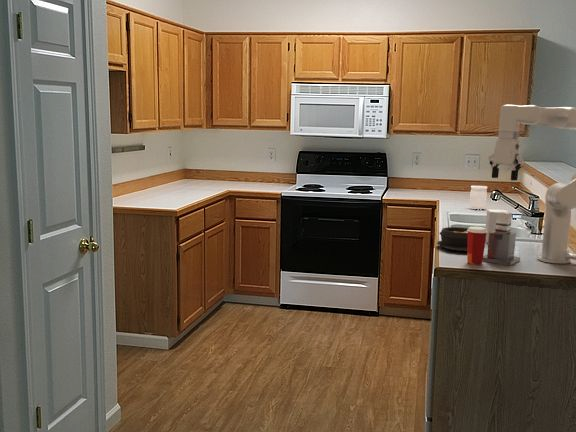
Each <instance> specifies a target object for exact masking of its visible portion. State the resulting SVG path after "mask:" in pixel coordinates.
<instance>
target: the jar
mask: <svg viewBox="0 0 576 432" xmlns="http://www.w3.org/2000/svg"><path fill="white" fill-rule="evenodd" d="M470 188H471V189H470V192H469V201H470V203H469V204H470V205H471V206H470V209H471V210H473V209H478V210H477V211H480V210H479V209H484V210H485V205H486V203H487V199H488V193H487V192H488V190H487V189H488V186H487V185H479V184H478V185H471V186H470Z"/></svg>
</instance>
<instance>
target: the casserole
mask: <svg viewBox="0 0 576 432" xmlns="http://www.w3.org/2000/svg"><path fill="white" fill-rule="evenodd" d="M468 228H469V227H459V226H457V227H456V226H454V227H453V226H449V227H448V226H447V227H443V228H442V229H441V231H440V232H439V235H440V237H441V240H439V241H437V242H436V244H438V245H439V246H441V247H443V248H445V249H448V250H450V251H454V252H467V247H468V231H467V230H468Z"/></svg>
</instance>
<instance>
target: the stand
mask: <svg viewBox="0 0 576 432" xmlns="http://www.w3.org/2000/svg"><path fill="white" fill-rule="evenodd" d="M516 238H517V233H516V232H512V231H510V234H508V235H507V234H499V233H495V231H492V232H490V233H489V241H488V244H487V252H486V253H487V254H485V255H483V261H482V262H483V263H490V264H495V265H496V264H498V265H503V266H509V267H511V266H513V265H515V264H517V263H519V262H521V257H520V256H515V250H516V249H515V247H516Z"/></svg>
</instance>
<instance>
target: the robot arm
mask: <svg viewBox="0 0 576 432" xmlns="http://www.w3.org/2000/svg"><path fill="white" fill-rule="evenodd" d="M499 114H500V115H499V126H498V127H499V128H498V136H497V139H496V142H495V147H494V149H493V150H494V153H492V154H491V155H490V156H488V161H489V165H490V168H491V169H492V170H491V178H492V179H498V178H499V172H500V168H499V166H500V165H505V166H511V170H510V171H511V172H510V181H511V182H513V181H518V178H519V177H518V176H519V171H520V170H521V168H522V167H523V165H524V164H525V162H526V161H525V159H524V158H523V157H522V156H521V142H520V140H519V138H520V137H521V134H520V133H519V132H520V124H522V125H530V126H531V125H532V126H540V127H541V126H542V127H551V128H557V129H565V130H574V131H575V130H576V107H572V106H562V107H561V106H559V107H545V106H544V107H543V106H538V105H535V104H529V105H527V104H526V105H517V104H503V105H502V106H501V107H500V113H499ZM570 178H571V179H570V182H568V183H563V182H556V183H553V184H552V185H550V186H549V187H548V188H547V190H546V192H545V197H544V198H545V215H544V225H543V236H542V243H541V244H542V245H541V254H538V255H537V256H536V259H537V260H538V261H541V262H544V263H549V264H557V265H558V264H559V265H560V264H561V265H562V264H564V265H566V264H570V263H571V260H574V261H576V254H575V253H574V254H572V253H571V252H570V250H568V248H569V239H570V230H571V220H572V210H573V209H575V208H576V171H575V172H574V173H573V174H572V176H571V177H570Z"/></svg>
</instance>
